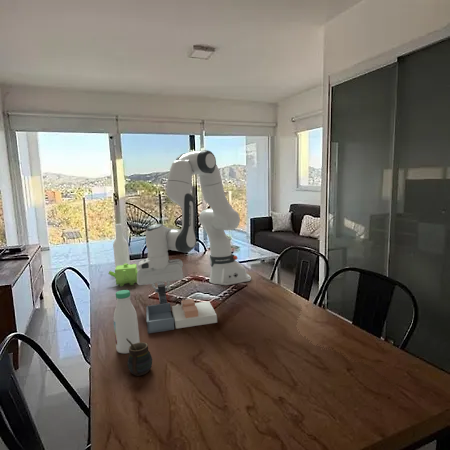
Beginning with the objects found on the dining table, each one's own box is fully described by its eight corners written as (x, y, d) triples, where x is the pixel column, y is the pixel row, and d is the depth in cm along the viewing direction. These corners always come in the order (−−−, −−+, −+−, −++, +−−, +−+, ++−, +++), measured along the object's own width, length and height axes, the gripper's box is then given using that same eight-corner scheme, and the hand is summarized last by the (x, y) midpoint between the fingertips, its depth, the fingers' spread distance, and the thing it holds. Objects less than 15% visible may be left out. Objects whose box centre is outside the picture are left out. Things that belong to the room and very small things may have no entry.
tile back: (193, 304, 147) (193, 298, 147) (195, 308, 142) (194, 302, 142) (181, 306, 146) (181, 300, 146) (183, 310, 141) (182, 304, 141)
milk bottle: (144, 345, 120) (139, 289, 117) (129, 355, 113) (123, 296, 110) (127, 341, 123) (121, 287, 120) (111, 352, 116) (105, 294, 113)
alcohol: (112, 272, 218) (108, 224, 213) (124, 268, 225) (119, 222, 221) (122, 273, 213) (117, 225, 208) (133, 270, 220) (128, 223, 216)
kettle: (146, 281, 194) (145, 262, 192) (127, 289, 182) (124, 268, 181) (128, 278, 202) (126, 259, 201) (108, 285, 190) (106, 265, 189)
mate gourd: (147, 379, 99) (144, 346, 98) (123, 378, 101) (119, 345, 99) (157, 365, 106) (153, 334, 105) (133, 364, 108) (130, 334, 106)
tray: (170, 312, 147) (169, 302, 147) (174, 329, 131) (173, 318, 130) (147, 316, 145) (146, 305, 144) (147, 333, 129) (146, 322, 128)
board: (209, 307, 150) (209, 301, 150) (217, 322, 135) (216, 315, 135) (172, 312, 147) (171, 306, 146) (175, 328, 131) (175, 321, 131)
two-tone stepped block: (165, 293, 163) (163, 279, 162) (167, 304, 149) (165, 289, 148) (158, 294, 162) (156, 280, 161) (160, 305, 149) (158, 290, 148)
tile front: (196, 311, 139) (195, 305, 139) (198, 316, 134) (197, 310, 134) (183, 313, 138) (183, 307, 138) (185, 318, 133) (184, 311, 133)
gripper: (181, 256, 158) (184, 285, 161) (135, 262, 154) (138, 292, 156) (183, 259, 152) (185, 290, 154) (134, 266, 148) (138, 297, 150)
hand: (161, 291), depth 155 cm, fingers closed on two-tone stepped block, 3 cm apart
